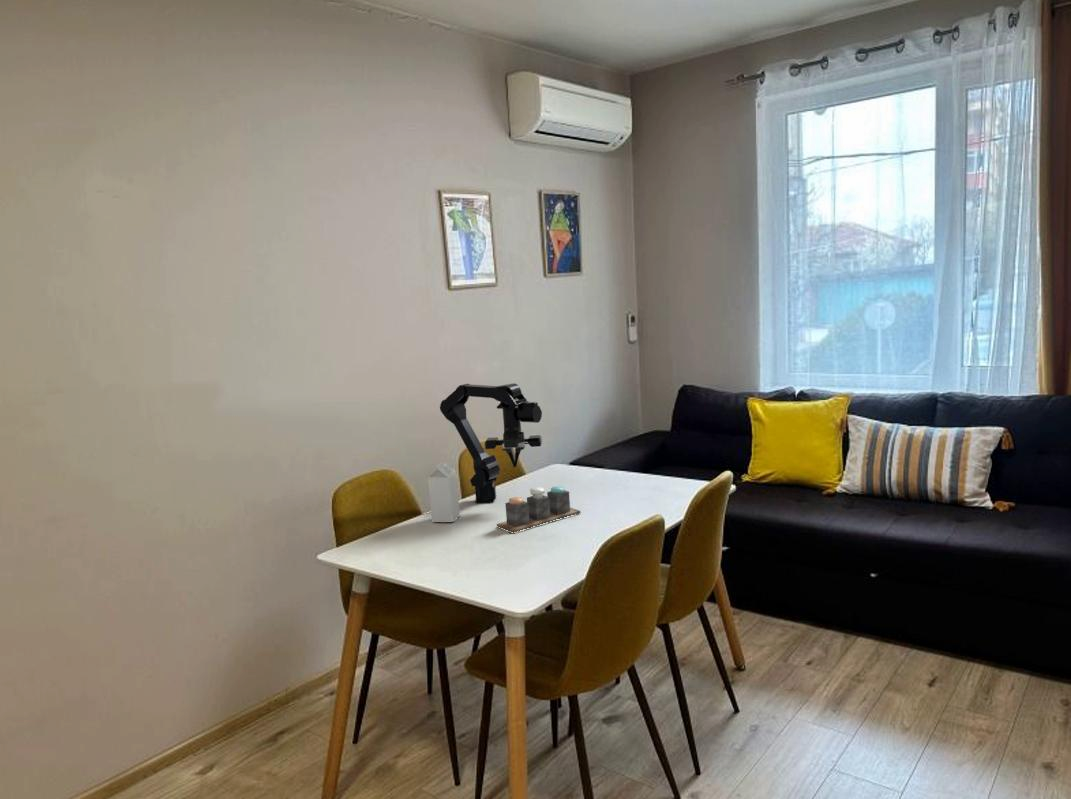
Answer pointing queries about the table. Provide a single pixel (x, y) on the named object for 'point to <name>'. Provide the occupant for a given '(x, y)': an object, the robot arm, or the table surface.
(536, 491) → the white button
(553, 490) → the teal button
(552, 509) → the button stand
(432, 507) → the milk carton
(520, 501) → the peach ball
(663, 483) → the table surface
